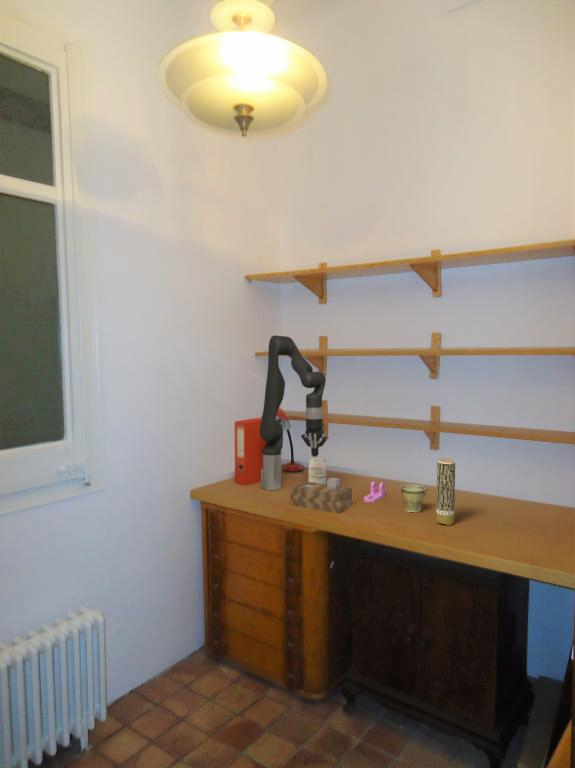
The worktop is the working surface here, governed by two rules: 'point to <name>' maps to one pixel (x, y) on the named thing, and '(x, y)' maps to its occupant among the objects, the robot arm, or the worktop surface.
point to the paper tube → (445, 491)
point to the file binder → (248, 451)
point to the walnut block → (321, 497)
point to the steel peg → (333, 484)
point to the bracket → (375, 492)
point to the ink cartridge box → (317, 471)
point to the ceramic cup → (413, 497)
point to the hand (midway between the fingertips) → (315, 456)
